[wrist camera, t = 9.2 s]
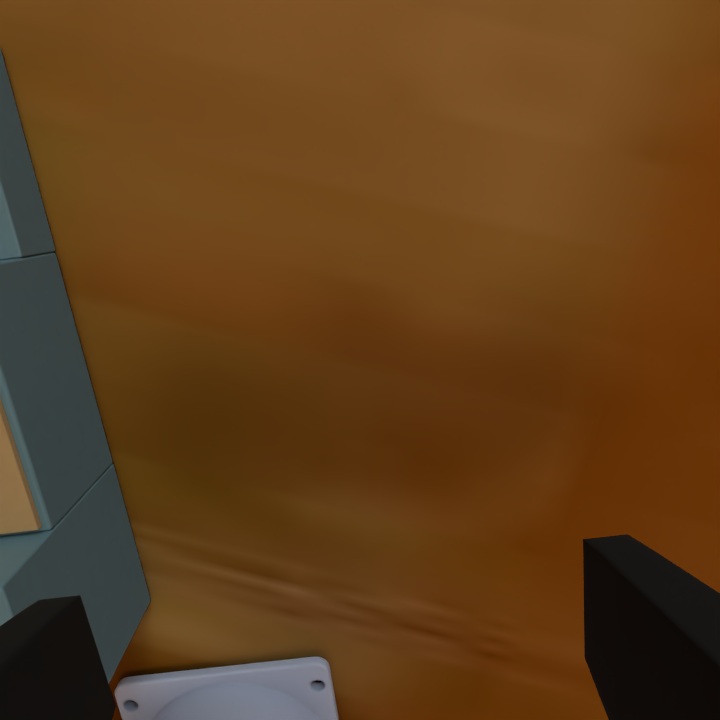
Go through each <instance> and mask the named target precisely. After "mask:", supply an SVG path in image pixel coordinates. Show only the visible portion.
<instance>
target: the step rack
mask: <svg viewBox="0 0 720 720" xmlns="http://www.w3.org/2000/svg"><path fill="white" fill-rule="evenodd" d="M54 251H55V246H54V243H53V239H52V235H51V232H50V228H49V224H48V221H47V217H46V213H45V210H44V206H43V202H42V199H41V195H40V191H39V188H38V184H37V180H36V177H35V173H34V169H33V166H32V162H31V158H30V155H29V151H28V147H27V144H26V140H25V136H24V133H23V129H22V125H21V122H20V118H19V114H18V111H17V107H16V103H15V100H14V96H13V92H12V89H11V85H10V81H9V78H8V74H7V70H6V67H5V63H4V59H3V56H2V52H1V49H0V626H1V625H2V624H4V623H5V622H7V621H8V620H10V619H11V618H12V617H14V616H15V615H17V614H18V613H20V612H21V611H23V610H24V609H26V608H27V607H29V606H30V605H32V604H34V603H35V602H37V601H38V600H42V599H51V598H60V597H69V596H78V595H80V596H81V599H82V602H83V605H84V608H85V611H86V614H87V618H88V621H89V624H90V627H91V630H92V633H93V636H94V640H95V643H96V646H97V649H98V652H99V655H100V658H101V662H102V665H103V668H104V671H105V674H106V677H107V680H108V684H109V682H110V680H111V678H112V676H113V674H114V672H115V670H116V668H117V666H118V664H119V662H120V660H121V658H122V656H123V654H124V652H125V650H126V649H127V647H128V645H129V643H130V641H131V639H132V637H133V635H134V633H135V631H136V629H137V627H138V625H139V623H140V621H141V619H142V617H143V615H144V613H145V611H146V609H147V607H148V605H149V603H150V601H151V599H150V595H149V592H148V588H147V584H146V581H145V577H144V573H143V570H142V566H141V562H140V559H139V555H138V551H137V548H136V544H135V540H134V537H133V533H132V529H131V526H130V522H129V518H128V515H127V511H126V507H125V504H124V500H123V496H122V493H121V489H120V485H119V482H118V478H117V474H116V471H115V467H114V464H112V458H111V454H110V450H109V447H108V443H107V439H106V436H105V432H104V428H103V425H102V421H101V417H100V414H99V410H98V406H97V403H96V399H95V395H94V392H93V388H92V384H91V381H90V377H89V373H88V370H87V366H86V362H85V359H84V355H83V351H82V348H81V344H80V340H79V337H78V333H77V329H76V326H75V322H74V318H73V315H72V311H71V307H70V304H69V300H68V296H67V293H66V289H65V285H64V282H63V278H62V274H61V271H60V267H59V263H58V260H57V256H56V254H55V253H53V252H54Z"/></svg>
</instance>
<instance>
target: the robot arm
mask: <svg viewBox="0 0 720 720" xmlns="http://www.w3.org/2000/svg"><path fill="white" fill-rule="evenodd" d="M583 552H584V634H585V659H586V662H587V664H588V667H589V669H590V672H591V675H592V677H593V680H594V683H595V685H596V688H597V690H598V693H599V696H600V698H601V701H602V703H603V706H604V708H605V711H606V713H607V716H608V718H609V720H720V593H718V592H717V591H715V590H713V589H712V588H710V587H709V586H707V585H706V584H704V583H703V582H701V581H700V580H698V579H696V578H695V577H693V576H692V575H690V574H689V573H687V572H686V571H684V570H683V569H681V568H680V567H678V566H677V565H675V564H673V563H672V562H670V561H669V560H667V559H666V558H664V557H663V556H661V555H660V554H658V553H656V552H655V551H653V550H652V549H650V548H649V547H647V546H645V545H644V544H642V543H641V542H639V541H637V540H636V539H634V538H632V537H631V536H629V535H619V536H610V537H601V538H591V539H583ZM315 680H320V681H322V682H320V683H318V682H314V681H315ZM114 692H115V698H116V701H117V704H118V708H119V711H120V714H121V717H122V720H339V717H338V711H337V705H336V699H335V694H334V688H333V682H332V676H331V671H330V665H329V663H328V661H326V660H325V659H324V658H322V657H315V656H314V657H305V658H296V659H287V660H277V661H268V662H259V663H250V664H240V665H231V666H222V667H213V668H204V669H194V670H185V671H176V672H167V673H157V674H148V675H139V676H130V677H125V678H123V679H121V680H120V681H119V683H118V685H117V687H116V689H115V691H114ZM130 700H132V701H134V702H132V701H130ZM115 707H116V706H115V702H114V699H113V696H112V693H111V690H110V687H109V684H108V680H107V677H106V674H105V671H104V668H103V665H102V662H101V658H100V655H99V652H98V649H97V646H96V643H95V640H94V636H93V633H92V630H91V627H90V624H89V621H88V618H87V614H86V611H85V608H84V605H83V602H82V599H81V596H80V595H78V596H69V597H60V598H51V599H42V600H38V601H37V602H35V603H34V604H32V605H30V606H29V607H27V608H26V609H24V610H23V611H21V612H20V613H18V614H17V615H15V616H14V617H12V618H11V619H10V620H8V621H7V622H5V623H4V624H2V625H1V626H0V720H112V717H113V714H114V711H115Z"/></svg>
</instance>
